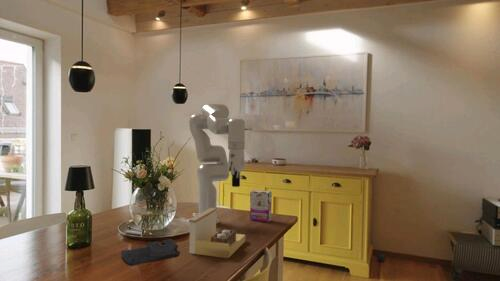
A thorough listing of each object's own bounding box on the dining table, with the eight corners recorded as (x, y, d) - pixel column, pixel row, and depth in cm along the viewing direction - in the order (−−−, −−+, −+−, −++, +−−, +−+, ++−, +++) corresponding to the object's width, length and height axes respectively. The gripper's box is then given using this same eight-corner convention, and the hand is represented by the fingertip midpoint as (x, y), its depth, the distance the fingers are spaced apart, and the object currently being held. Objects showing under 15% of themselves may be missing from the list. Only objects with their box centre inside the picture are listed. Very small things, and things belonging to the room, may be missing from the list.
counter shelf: (188, 253, 147) (188, 219, 146) (210, 237, 169) (210, 207, 168) (227, 258, 142) (228, 223, 141) (245, 241, 163) (245, 210, 163)
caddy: (211, 247, 145) (211, 236, 145) (221, 238, 157) (221, 228, 157) (226, 249, 144) (226, 238, 143) (235, 240, 155) (236, 229, 155)
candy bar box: (271, 220, 199) (272, 191, 199) (268, 222, 195) (269, 192, 194) (253, 218, 204) (253, 189, 203) (249, 220, 199) (250, 191, 198)
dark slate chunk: (117, 255, 145) (117, 243, 145) (168, 245, 158) (168, 234, 157) (128, 268, 132) (128, 255, 132) (183, 256, 145) (183, 244, 145)
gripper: (238, 147, 153) (238, 189, 154) (249, 145, 168) (248, 184, 168) (222, 146, 156) (222, 188, 156) (234, 145, 170) (233, 183, 171)
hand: (235, 186), depth 162 cm, fingers closed
